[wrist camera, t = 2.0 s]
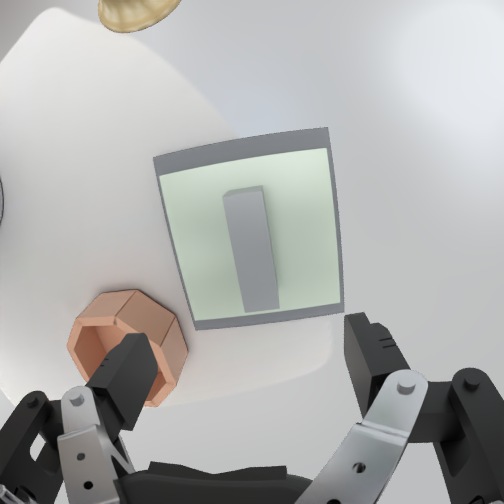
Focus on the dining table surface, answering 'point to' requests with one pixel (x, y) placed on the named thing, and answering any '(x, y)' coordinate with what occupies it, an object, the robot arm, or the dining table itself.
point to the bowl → (117, 326)
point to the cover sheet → (288, 229)
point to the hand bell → (133, 13)
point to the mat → (244, 150)
